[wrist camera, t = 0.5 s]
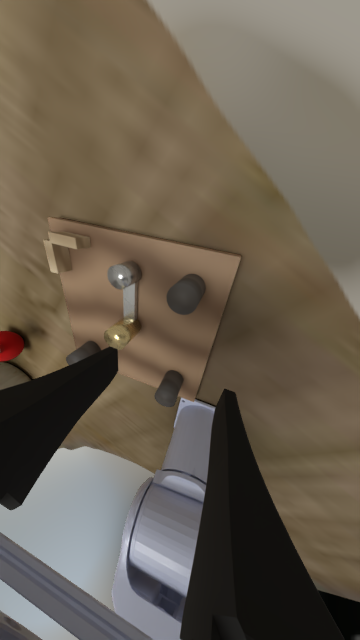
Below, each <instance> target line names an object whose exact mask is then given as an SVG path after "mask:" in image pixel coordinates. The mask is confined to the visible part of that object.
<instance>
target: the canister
mask: <svg viewBox="0 0 360 640" xmlns="http://www.w3.org/2000/svg"><path fill="white" fill-rule="evenodd" d="M28 381H31V379H30V378H29V377H28V376H27V375H26V374H25V373H24V372H22V371H21V370H20V369H18V368H16V367H15V366H13V365H11V364H8V363H4V362H0V390H2V389H5V388H8V387H12V386H15V385H18V384H21V383H25V382H28Z"/></svg>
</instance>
